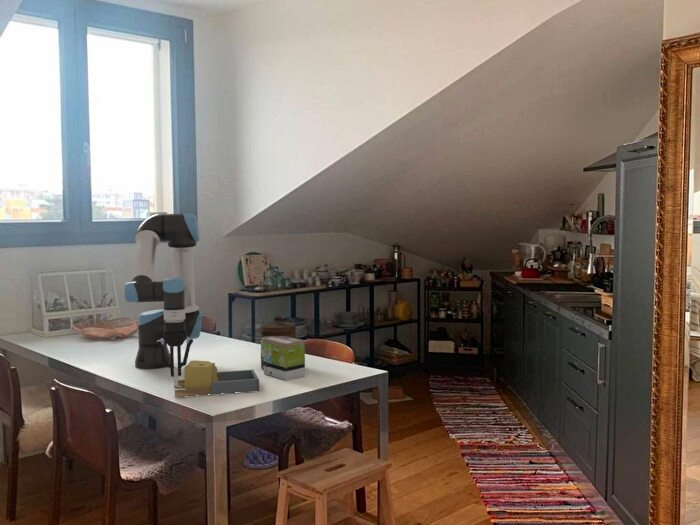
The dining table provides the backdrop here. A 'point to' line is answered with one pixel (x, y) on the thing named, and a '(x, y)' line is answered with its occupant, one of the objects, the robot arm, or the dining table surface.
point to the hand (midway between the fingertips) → (176, 385)
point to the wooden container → (276, 331)
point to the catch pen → (235, 382)
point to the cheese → (200, 374)
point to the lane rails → (191, 391)
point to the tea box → (284, 357)
